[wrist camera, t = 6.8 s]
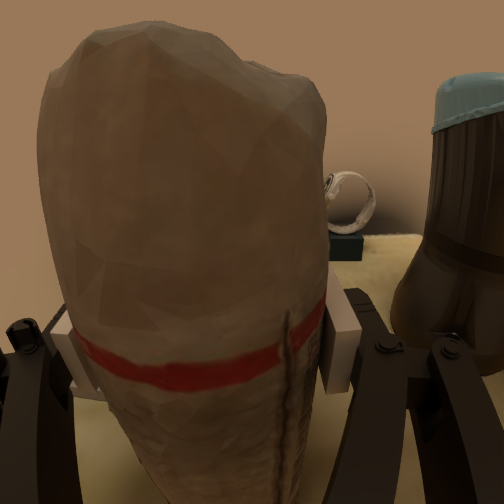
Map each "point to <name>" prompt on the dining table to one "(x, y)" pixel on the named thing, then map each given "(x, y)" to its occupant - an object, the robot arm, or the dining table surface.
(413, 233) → the dining table surface
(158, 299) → the beige textured cylinder
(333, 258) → the watch
